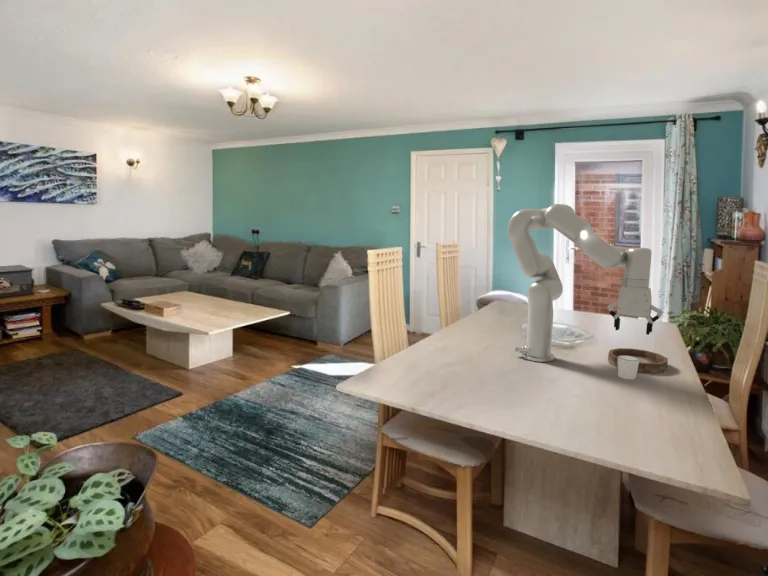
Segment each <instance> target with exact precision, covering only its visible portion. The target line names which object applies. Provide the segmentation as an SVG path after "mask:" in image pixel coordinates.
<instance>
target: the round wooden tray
mask: <svg viewBox="0 0 768 576" xmlns="http://www.w3.org/2000/svg"><path fill="white" fill-rule="evenodd" d="M620 355H627V356H633V357H636V358H638V359H639V365H638V370H637V373H641V372H642V373H641V374H660V373H661V372H662V373H665V372H667V370H668V362H669V359H668V357H666V356H664V355H662V354H659V353H657V352H653V351H649V350H645V349H644V350H643V349H638V348H637V349H636V348H628V347H627V348H625V347H623V348H622V347H618V348H612V349H609V351H608V356H607V358H608V359H607V362H608V363H609V364H610V365H611V366H613V367H615V368H618V356H620ZM664 371H665V372H664Z"/></svg>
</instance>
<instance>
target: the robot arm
mask: <svg viewBox="0 0 768 576" xmlns="http://www.w3.org/2000/svg"><path fill="white" fill-rule="evenodd" d="M548 229H555V230H556V231H558V233H560V234H561V235H563V236H564V237H566V239H568V240H569V241H571V242H572V243H573V244H574V245H575V246H576V247H577V248H578V249H579V251H581V252H582V253H583V254H584V255H585V256H587V257H588V258H589V259H590V260H591V261H593V262H594V263H595V264H598V266H600V267H602V268H605V269H608V270H609V269H611V270H612V269H616V268H619V267H625V268H624V277H623V278H620V279H619V283H621V284H623V286H621V287H620V290H619V293H618V299H617V302H614V303H611V304H608V305H607V306H606V308H607V310H608V312H609V315H611V316H612V318H613V319H614V321H613V327H614V328H615V331H619V330H620V325H621V318H620V317H621V316H624V317H625V316H626V317H634V318H643V319H644V318H645V320H647V322H646V329H645V331H646V333H645V334H646V335H648V336H649V335H650V334H651V333H652V332H653V325H654V323H655V322H657V321H658V320H659V319H660V318H661V316H662V315H663V314H664V311H663V310H661V309H660V308H659V307H656V306H655V305H653V304H652V303H653V302H652V299H653V297H652V289H651V288H650V287H649V286H650V275H651V264H652V250H651V249H650V248H648V247H625V246H619V245H615V246H613V245H610V244H609V243H608V242H606V241H605V240H603V239H602V238H600V237H599V236H598V235H597V234H596V233H595V231H594V230H593V226H592V225H591V224H590V223H589V222H587V221H586V220H585V219H583V218H582V217H580V216H578V215H577V214H576V212H575V210H574V208H572V206H570V205H568V204H564V203H556V204H552V205H550V206H549V207H544V208H538V209H535V208H523V209H519V210H518V211H516V212H515V213H513V215H512V216H511V217H510V218H509V221H508V224H507V235H508V239H509V241H510V244H511V246H512V249H513V251H514V254H515V257H516V260H517V262H518V265H519V267H520V268H519V269H520V270H521V272H522V274H523V275H524V276H525V277H527V278H529V279H532V278H533V279H535V281H534V282H532V283H531V284H530V285H529V287H528V289H527V295H526V296H527V308H528V310H527V327H526V343H524V344H523V346H513V352H518V354H519V353H520V354H521V358H524V359H526V360H528V361H534V362H539V363H540V362H541V363H545V362H546V363H548V362H552V361H554V360H555V355H554V354H553V353H552V351H551V350H552V339H553V327H554V326H553V325H554V305H553V301H556V300H558V299H559V298H561V296H562V294H563V292H564V291H563V288H564V287H563V284H562V280H561V278H560V276H559V274H558V271H557V268H556V265H555V264H554V261H553V259H552V258H551V257H550V256H549V255H548V254H546V253H542V252H539V250H538V248H537V245H536V242H535V240H534V238H533V236H532V235H531V234H530V231H540V230H541V231H543V230H548ZM616 307H617V308H616ZM614 308H616V312H617V313H616V312H615V310H614ZM652 311H653V312H655V313H656V315H655V316H653V317H652V315H651V313H652Z"/></svg>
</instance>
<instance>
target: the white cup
mask: <svg viewBox="0 0 768 576" xmlns="http://www.w3.org/2000/svg"><path fill="white" fill-rule="evenodd" d="M638 365H639V359H638V358H636V357H633V356H627V355H620V356H618V367H617V376H618V377H619V378H620V379H623V380H635V379H636V378H637V374H638V372H637V370H638Z"/></svg>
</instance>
